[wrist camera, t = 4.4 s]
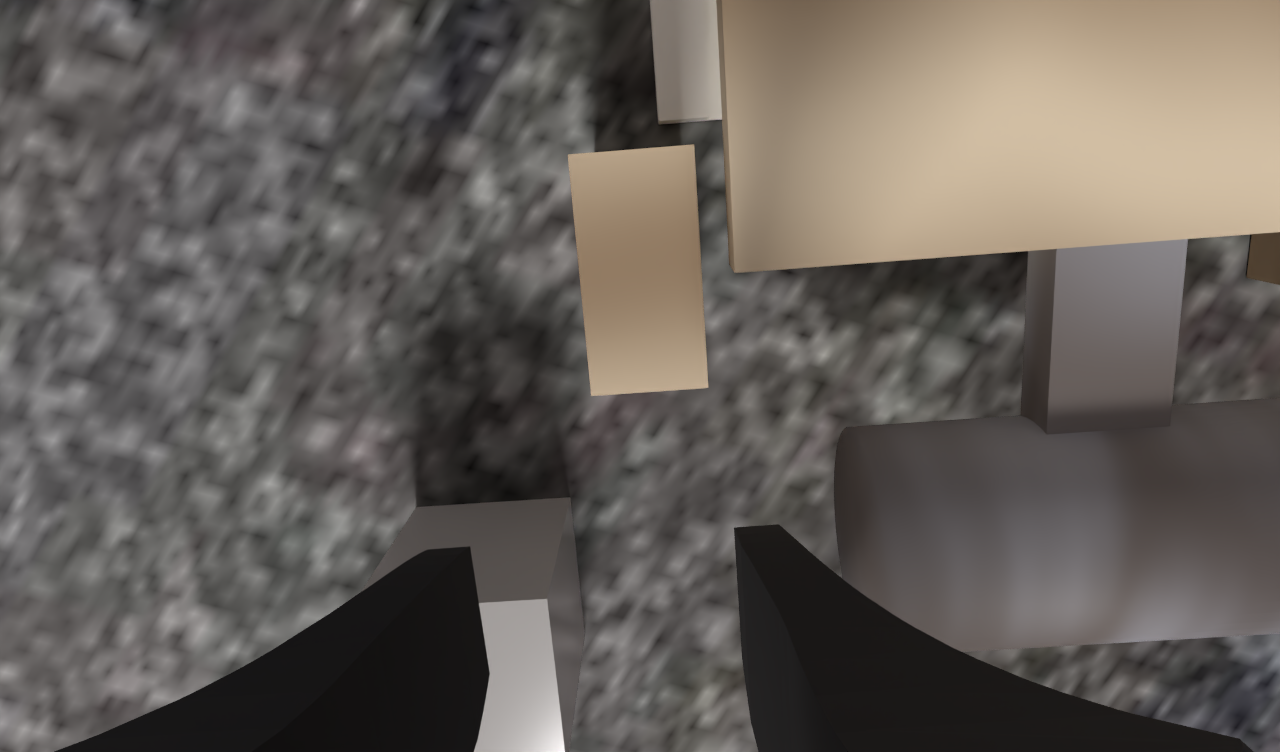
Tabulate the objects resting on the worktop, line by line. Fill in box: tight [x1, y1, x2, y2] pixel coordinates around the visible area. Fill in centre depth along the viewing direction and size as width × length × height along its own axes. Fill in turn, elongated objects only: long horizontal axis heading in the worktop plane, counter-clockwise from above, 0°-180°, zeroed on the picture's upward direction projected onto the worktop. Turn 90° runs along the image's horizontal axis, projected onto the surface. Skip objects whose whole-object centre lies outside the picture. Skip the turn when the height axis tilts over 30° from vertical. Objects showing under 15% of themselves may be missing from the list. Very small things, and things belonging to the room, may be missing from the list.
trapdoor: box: [716, 0, 1280, 652], centre depth 13 cm, size 15×12×4 cm
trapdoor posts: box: [568, 144, 1280, 396], centre depth 16 cm, size 4×17×6 cm, turn 94°
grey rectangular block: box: [361, 497, 585, 752], centre depth 19 cm, size 4×4×5 cm
